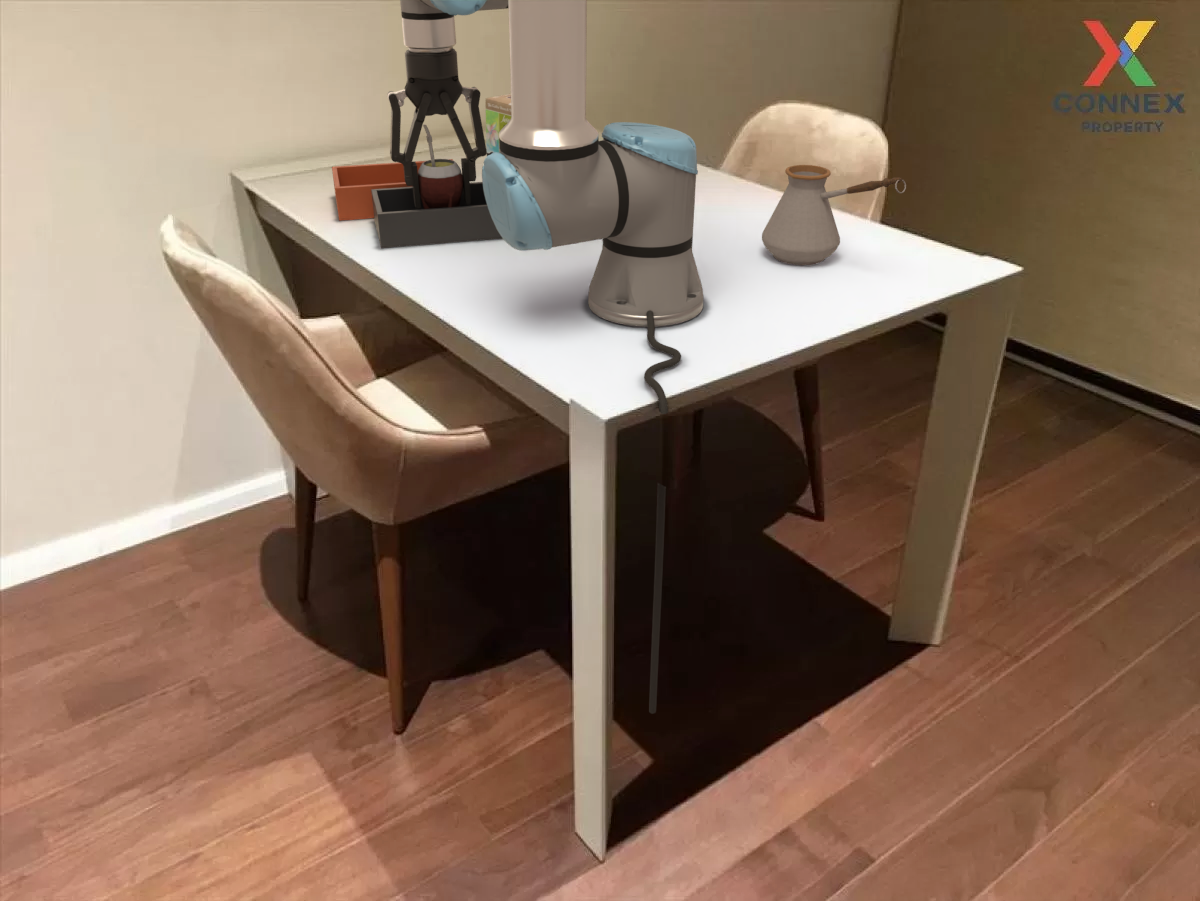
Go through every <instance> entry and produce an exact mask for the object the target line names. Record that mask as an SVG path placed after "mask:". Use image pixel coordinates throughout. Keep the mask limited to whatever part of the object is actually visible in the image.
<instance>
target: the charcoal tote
mask: <svg viewBox="0 0 1200 901" xmlns="http://www.w3.org/2000/svg"><path fill="white" fill-rule="evenodd" d="M371 193H372V202H373V212H374V218H373V220H374V225H375V229H376V233H377V237H378V241H379V245H380V249H391V248H392V249H393V248H402V247H403V248H404V247H414V246H416V247H417V246H426V245H427V246H428V245H429V246H430V245H440V244H453V243H465V242H476V241H477V242H478V241H489V240H501V239H503V238H502V237H501V235H500V234H499V232H498V230H497V228H496V226H495V224H494V222H493V220H492V217H491V215H490V212H489V209H488V206H487V203H486V199H485V195H484V189H483V182H482V181H472V182H470V195H471V204H468V205H466V203H465V201H464V196H463V191H462V195H461V200H460V206H459V207H449V208H435V209H424V206H423V204H422V201H421V195H420V205H421V208H416V207H415V205H414V198H413V187H399V188H385V189H371ZM419 193H420V192H419ZM503 240H504V239H503Z"/></svg>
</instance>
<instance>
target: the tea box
mask: <svg viewBox="0 0 1200 901" xmlns="http://www.w3.org/2000/svg"><path fill="white" fill-rule="evenodd" d="M511 117H512V116H511V93H506V94H501V95H495V96H490V97H486V98H485V145H486V150H487V154H486V157H487V156H488V155H491V154H492V153H493V152H498V153H499V132H500V130H501V129H502V128H503V127H504V126H505V125H506V124H507V123H508V122H509V121H510V119H511Z"/></svg>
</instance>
